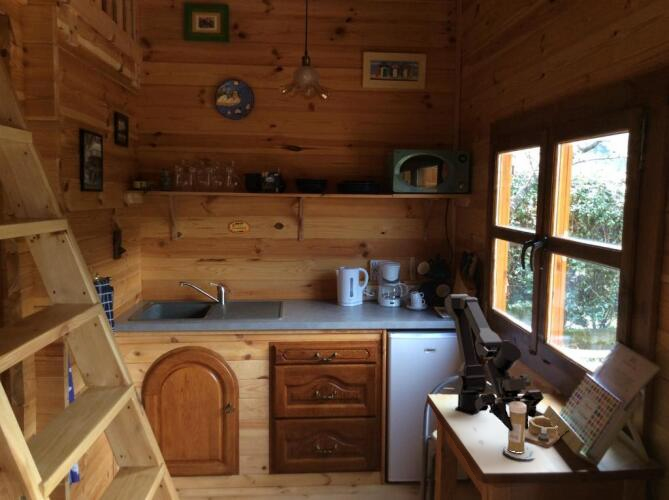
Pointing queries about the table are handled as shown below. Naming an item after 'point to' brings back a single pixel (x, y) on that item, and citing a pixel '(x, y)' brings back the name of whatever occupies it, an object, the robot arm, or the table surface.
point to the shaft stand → (541, 432)
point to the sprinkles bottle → (517, 426)
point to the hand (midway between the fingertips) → (519, 429)
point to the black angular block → (534, 412)
